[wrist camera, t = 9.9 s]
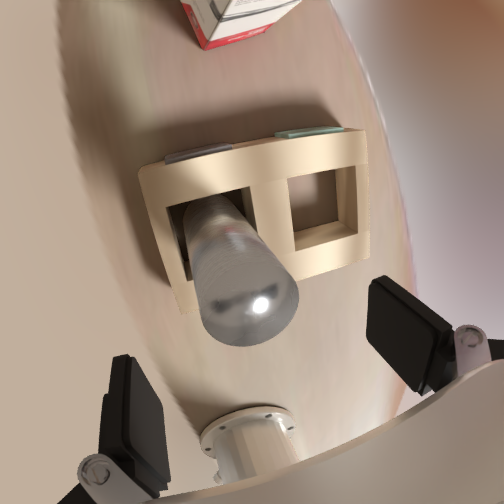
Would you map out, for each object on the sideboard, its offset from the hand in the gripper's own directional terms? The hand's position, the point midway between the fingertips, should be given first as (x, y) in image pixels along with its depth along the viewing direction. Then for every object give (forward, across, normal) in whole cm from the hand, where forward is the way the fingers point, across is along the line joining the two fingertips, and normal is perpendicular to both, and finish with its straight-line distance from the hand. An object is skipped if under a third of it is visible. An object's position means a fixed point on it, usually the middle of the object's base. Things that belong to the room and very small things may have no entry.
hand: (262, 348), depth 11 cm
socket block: (+12, -4, -1) cm, 13 cm away
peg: (+12, 0, -1) cm, 13 cm away
